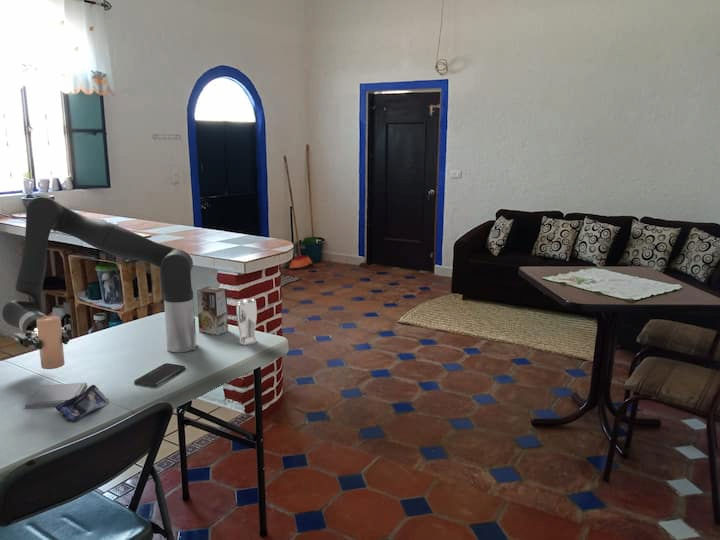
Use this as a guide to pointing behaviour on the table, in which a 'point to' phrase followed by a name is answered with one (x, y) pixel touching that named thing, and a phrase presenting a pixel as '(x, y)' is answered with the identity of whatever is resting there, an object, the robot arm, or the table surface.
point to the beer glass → (246, 320)
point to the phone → (159, 375)
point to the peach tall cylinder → (50, 342)
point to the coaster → (54, 394)
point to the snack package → (82, 404)
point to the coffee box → (212, 310)
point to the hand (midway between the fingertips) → (53, 343)
